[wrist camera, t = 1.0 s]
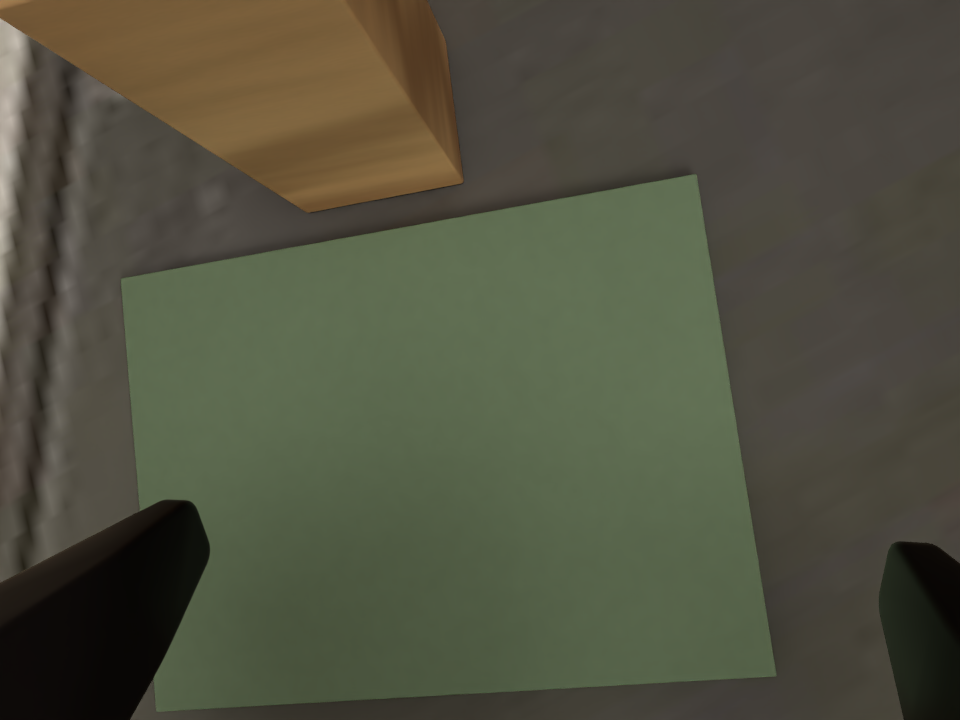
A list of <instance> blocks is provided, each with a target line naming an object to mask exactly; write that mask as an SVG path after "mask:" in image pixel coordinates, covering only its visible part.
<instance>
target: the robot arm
mask: <svg viewBox="0 0 960 720" xmlns="http://www.w3.org/2000/svg"><path fill="white" fill-rule="evenodd" d="M209 556H210V543H209V540H208V537H207V535H206V532H205V529H204V526H203V524H202V521H201V518H200V515H199V512H198V510H197V508H196V506H195V505H194V504H193V503H192V502H190V501H188V500H175V499H165V500H161V501H159V502H157V503H155V504H153V505H151V506H149V507H147V508H145V509H143V510H142V511H140V512H138V513H136V514H134V515H132V516H130V517H128V518H126V519H124V520H122V521H120V522H118V523H116V524H114V525H112V526H110V527H108V528H106V529H105V530H103V531H101V532H99V533H97V534H95V535H93V536H91V537H89V538H87V539H85V540H83V541H81V542H79V543H77V544H75V545H73V546H71V547H69V548H67V549H66V550H64V551H62V552H60V553H58V554H56V555H54V556H52V557H50V558H48V559H46V560H44V561H42V562H40V563H38V564H36V565H34V566H32V567H30V568H29V569H27V570H25V571H23V572H21V573H19V574H17V575H15V576H13V577H11V578H9V579H7V580H5V581H3V582H1V583H0V720H130V718H131V717H132V715H133V713H134V711H135V710H136V708H137V706H138V704H139V702H140V701H141V699H142V697H143V695H144V694H145V692H146V690H147V688H148V687H149V685H150V683H151V681H152V680H153V678H154V676H155V674H156V672H157V671H158V669H159V667H160V665H161V663H162V661H163V659H164V657H165V655H166V653H167V651H168V649H169V647H170V645H171V643H172V641H173V638H174V636H175V634H176V632H177V630H178V627H179V625H180V623H181V621H182V619H183V616H184V614H185V612H186V610H187V607H188V605H189V603H190V601H191V599H192V596H193V594H194V592H195V590H196V588H197V585H198V583H199V581H200V579H201V576H202V574H203V572H204V570H205V568H206V565H207V563H208V560H209ZM879 611H880V617H881V622H882V626H883V630H884V635H885V639H886V643H887V648H888V652H889V656H890V661H891V665H892V670H893V674H894V678H895V683H896V687H897V691H898V696H899V700H900V704H901V709H902V713H903V717H904V720H960V563H959V562H957V561H956V560H955V559H953V558H952V557H951V556H950V555H948V554H947V553H946V552H944V551H943V550H942V549H940V548H939V547H937V546H936V545H933V544H929V543H917V542H896V543H894V544H892V545H891V547H890V549H889V551H888V555H887V560H886V565H885V569H884V574H883V579H882V583H881V588H880V593H879Z"/></svg>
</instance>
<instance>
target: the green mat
mask: <svg viewBox="0 0 960 720" xmlns="http://www.w3.org/2000/svg"><path fill="white" fill-rule="evenodd" d="M121 290H122V302H123V314H124V327H125V339H126V351H127V363H128V375H129V387H130V399H131V411H132V424H133V436H134V448H135V460H136V472H137V484H138V496H139V509H140V511H142V510H143V509H145V508H147V507H149V506H151V505H153V504H155V503H157V502H159V501H161V500H165V499H175V500H188V501H190V502H192V503H193V504H194V505H195V506H196V508H197V510H198V512H199V515H200V518H201V521H202V524H203V526H204V529H205V532H206V535H207V537H208V540H209V543H210V556H209V560H208V563H207V565H206V568H205V570H204V572H203V574H202V576H201V579H200V581H199V583H198V585H197V588H196V590H195V592H194V594H193V596H192V599H191V601H190V603H189V605H188V607H187V610H186V612H185V614H184V616H183V619H182V621H181V623H180V625H179V627H178V630H177V632H176V634H175V636H174V638H173V641H172V643H171V645H170V647H169V649H168V651H167V653H166V655H165V657H164V659H163V661H162V663H161V665H160V667H159V669H158V671H157V672H156V674H155V676H154V691H155V703H156V712H162V711H180V710H197V709H214V708H232V707H249V706H267V705H284V704H301V703H319V702H336V701H353V700H371V699H388V698H406V697H423V696H440V695H458V694H475V693H492V692H510V691H527V690H545V689H562V688H579V687H597V686H614V685H631V684H649V683H666V682H684V681H701V680H718V679H736V678H753V677H770V676H776V669H775V663H774V657H773V650H772V644H771V638H770V632H769V625H768V619H767V613H766V607H765V600H764V594H763V588H762V581H761V575H760V569H759V563H758V556H757V550H756V544H755V538H754V531H753V525H752V519H751V513H750V506H749V500H748V494H747V488H746V481H745V475H744V469H743V463H742V456H741V450H740V444H739V438H738V431H737V425H736V419H735V412H734V406H733V400H732V394H731V387H730V381H729V375H728V369H727V362H726V356H725V350H724V344H723V337H722V331H721V325H720V319H719V312H718V306H717V300H716V294H715V287H714V281H713V275H712V269H711V262H710V256H709V250H708V243H707V237H706V231H705V225H704V218H703V212H702V206H701V200H700V193H699V187H698V181H697V175H696V174H693V175H687V176H682V177H676V178H671V179H665V180H660V181H654V182H649V183H643V184H638V185H632V186H627V187H622V188H616V189H611V190H605V191H600V192H594V193H589V194H583V195H578V196H572V197H567V198H561V199H556V200H550V201H545V202H539V203H534V204H528V205H523V206H517V207H512V208H506V209H501V210H495V211H490V212H484V213H479V214H473V215H468V216H462V217H457V218H451V219H446V220H440V221H435V222H429V223H424V224H418V225H413V226H407V227H402V228H396V229H391V230H385V231H380V232H374V233H369V234H363V235H358V236H352V237H347V238H341V239H336V240H330V241H325V242H319V243H314V244H308V245H303V246H297V247H292V248H286V249H281V250H275V251H270V252H264V253H259V254H253V255H248V256H242V257H237V258H231V259H226V260H220V261H215V262H209V263H204V264H198V265H193V266H187V267H182V268H176V269H171V270H165V271H160V272H154V273H149V274H143V275H138V276H132V277H127V278H122V279H121Z"/></svg>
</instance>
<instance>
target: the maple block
mask: <svg viewBox="0 0 960 720" xmlns="http://www.w3.org/2000/svg"><path fill="white" fill-rule="evenodd" d="M0 18H1V19H2V20H4V21H5V22H7V23H9V24H10V25H12V26H13V27H15V28H16V29H18V30H20V31H21V32H23V33H24V34H26V35H28V36H29V37H31V38H32V39H34V40H35V41H37V42H39V43H40V44H42V45H43V46H45V47H46V48H48V49H50V50H51V51H53V52H54V53H56V54H57V55H59V56H61V57H62V58H64V59H65V60H67V61H69V62H70V63H72V64H73V65H75V66H76V67H78V68H80V69H81V70H83V71H84V72H86V73H87V74H89V75H91V76H92V77H94V78H95V79H97V80H98V81H100V82H102V83H103V84H105V85H106V86H108V87H110V88H111V89H113V90H114V91H116V92H117V93H119V94H121V95H122V96H124V97H125V98H127V99H128V100H130V101H132V102H133V103H135V104H136V105H138V106H139V107H141V108H143V109H144V110H146V111H147V112H149V113H151V114H152V115H154V116H155V117H157V118H158V119H160V120H162V121H163V122H165V123H166V124H168V125H169V126H171V127H173V128H174V129H176V130H177V131H179V132H180V133H182V134H184V135H185V136H187V137H188V138H190V139H191V140H193V141H195V142H196V143H198V144H199V145H201V146H203V147H204V148H206V149H207V150H209V151H210V152H212V153H214V154H215V155H217V156H218V157H220V158H221V159H223V160H225V161H226V162H228V163H229V164H231V165H232V166H234V167H236V168H237V169H239V170H240V171H242V172H244V173H245V174H247V175H248V176H250V177H251V178H253V179H255V180H256V181H258V182H259V183H261V184H262V185H264V186H266V187H267V188H269V189H270V190H272V191H273V192H275V193H277V194H278V195H280V196H281V197H283V198H285V199H286V200H288V201H289V202H291V203H292V204H294V205H296V206H297V207H299V208H300V209H302V210H303V211H305V212H307V213H309V212H315V211H320V210H325V209H330V208H336V207H341V206H346V205H351V204H357V203H362V202H367V201H372V200H378V199H383V198H388V197H393V196H399V195H404V194H409V193H414V192H420V191H425V190H430V189H435V188H441V187H446V186H451V185H456V184H461V183H463V181H464V180H463V172H462V164H461V156H460V149H459V141H458V133H457V125H456V117H455V110H454V102H453V94H452V86H451V79H450V71H449V63H448V55H447V48H446V41H445V39H444V37H443V35H442V32H441V30H440V28H439V26H438V24H437V21H436V19H435V17H434V15H433V12H432V10H431V8H430V6H429V4H428V1H427V0H0Z"/></svg>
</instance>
